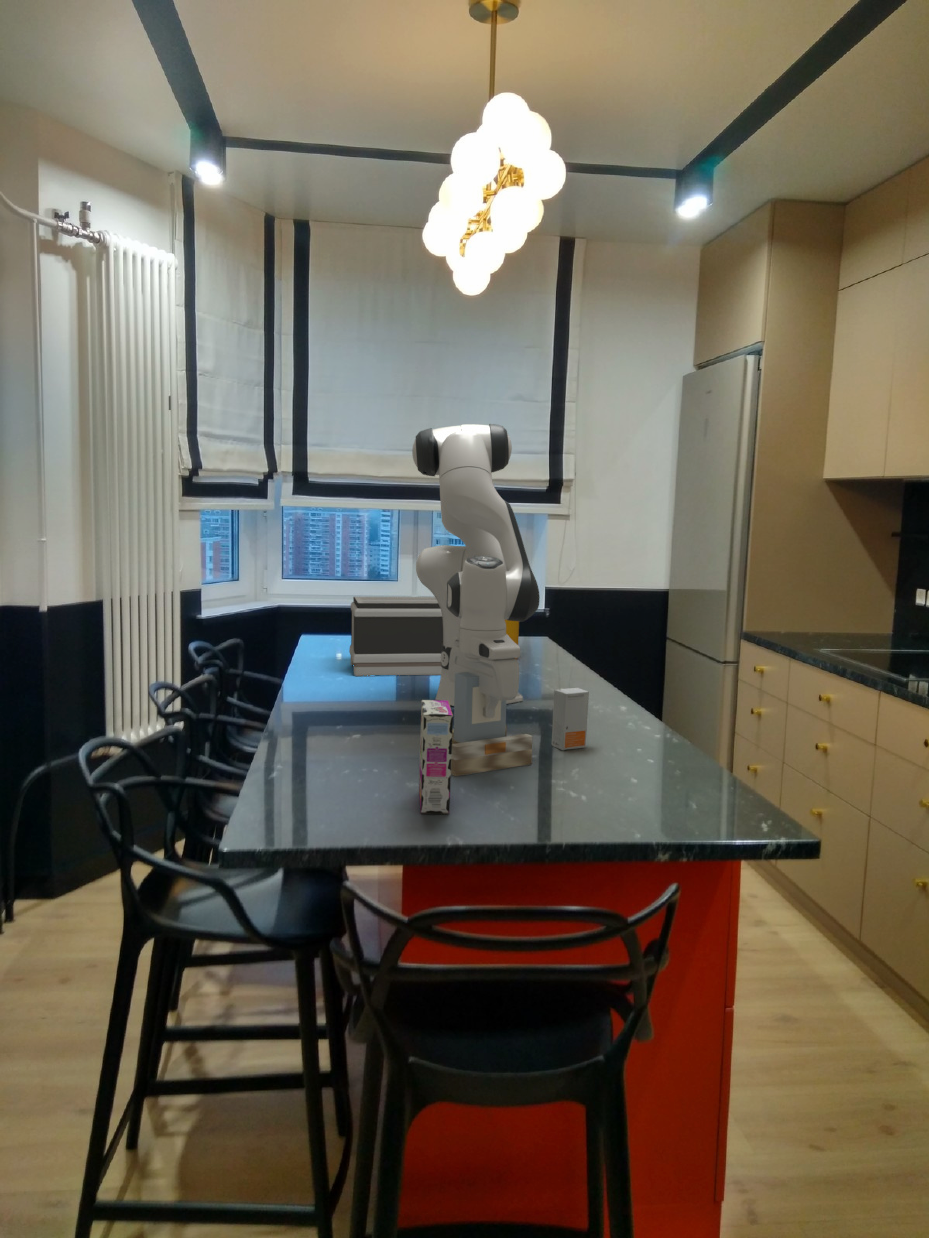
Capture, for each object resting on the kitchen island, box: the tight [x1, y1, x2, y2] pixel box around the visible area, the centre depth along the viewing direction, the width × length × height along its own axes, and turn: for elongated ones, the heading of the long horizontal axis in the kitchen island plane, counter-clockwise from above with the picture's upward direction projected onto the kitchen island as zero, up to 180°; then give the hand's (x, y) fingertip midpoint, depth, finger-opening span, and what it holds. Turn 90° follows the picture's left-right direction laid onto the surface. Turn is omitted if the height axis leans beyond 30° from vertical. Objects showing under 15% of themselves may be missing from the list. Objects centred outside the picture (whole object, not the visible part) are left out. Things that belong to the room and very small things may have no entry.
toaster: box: [348, 596, 443, 677], centre depth 254 cm, size 18×34×21 cm, turn 101°
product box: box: [453, 672, 507, 743], centre depth 165 cm, size 4×9×13 cm, turn 121°
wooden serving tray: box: [451, 725, 533, 777], centre depth 166 cm, size 17×11×6 cm, turn 120°
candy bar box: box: [418, 699, 454, 815], centre depth 142 cm, size 11×5×16 cm, turn 5°
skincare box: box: [551, 687, 590, 751], centre depth 178 cm, size 6×4×12 cm
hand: (480, 713), depth 165 cm, fingers closed on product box, 5 cm apart
